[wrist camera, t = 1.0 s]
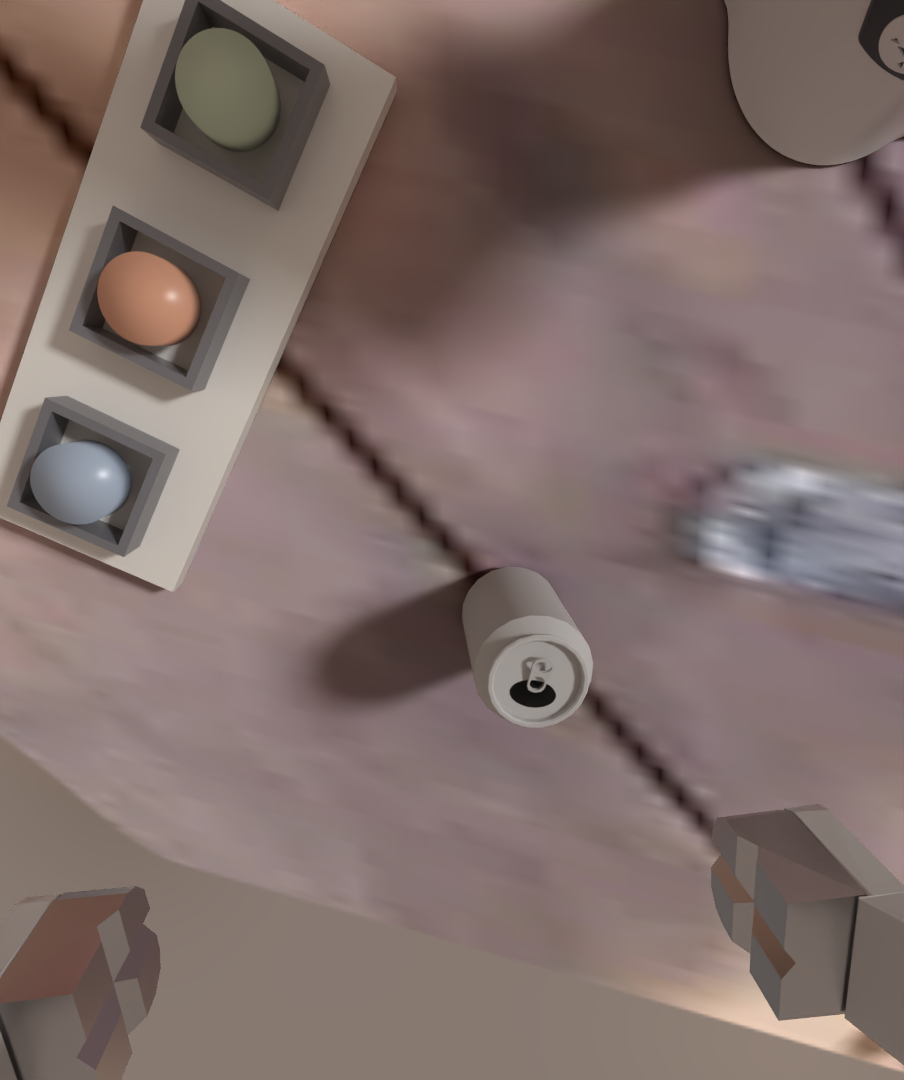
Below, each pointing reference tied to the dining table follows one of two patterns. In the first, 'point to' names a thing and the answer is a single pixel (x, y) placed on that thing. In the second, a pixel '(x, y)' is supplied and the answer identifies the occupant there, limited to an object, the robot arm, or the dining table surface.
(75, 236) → the console
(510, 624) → the can
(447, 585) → the dining table surface
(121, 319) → the terracotta button
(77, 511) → the slate button
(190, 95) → the sage button
